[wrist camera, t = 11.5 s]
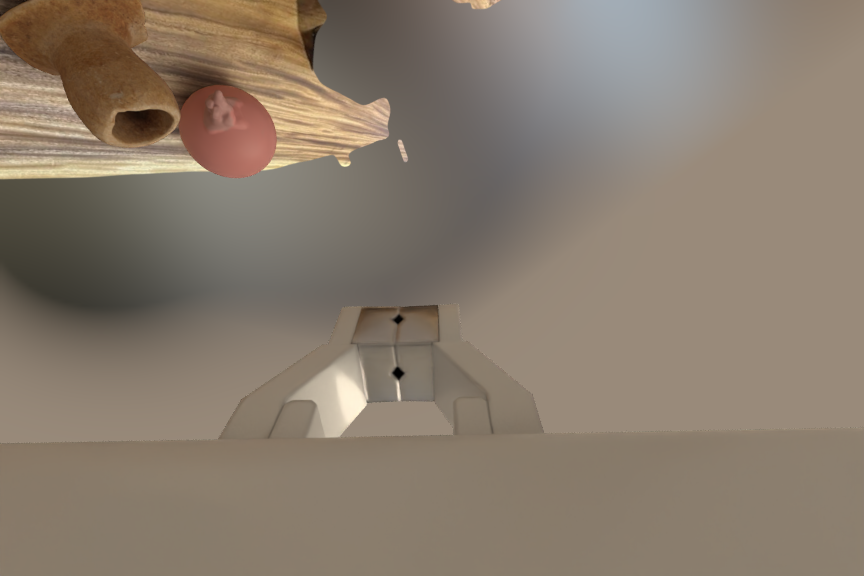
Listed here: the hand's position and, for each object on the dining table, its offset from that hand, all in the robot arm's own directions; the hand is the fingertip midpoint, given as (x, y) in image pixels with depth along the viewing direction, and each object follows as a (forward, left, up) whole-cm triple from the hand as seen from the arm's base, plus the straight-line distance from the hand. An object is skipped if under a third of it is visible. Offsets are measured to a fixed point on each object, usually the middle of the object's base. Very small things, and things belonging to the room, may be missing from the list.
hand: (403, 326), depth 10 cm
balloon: (+50, +24, -54) cm, 78 cm away
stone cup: (+36, +10, -54) cm, 66 cm away
